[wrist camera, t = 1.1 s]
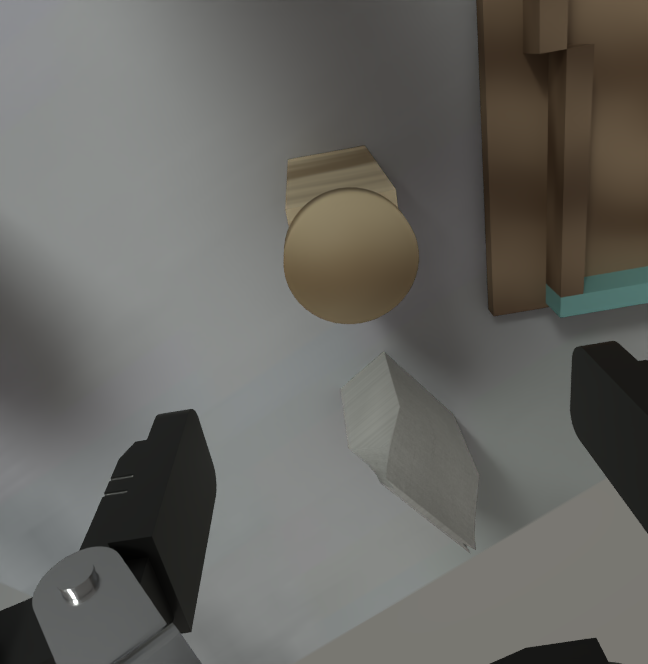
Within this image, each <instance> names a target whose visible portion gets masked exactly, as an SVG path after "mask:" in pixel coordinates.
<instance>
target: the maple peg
mask: <svg viewBox="0 0 648 664" xmlns="http://www.w3.org/2000/svg"><path fill="white" fill-rule="evenodd" d="M285 210H286V215H287V220H288V225H289V229H288V231H287V235H286V238H285V245H284V272H285V277H286V280H287V284H288V286H289V288H290V290H291V292H292V294H293V295H294V297H295V298H296V299H297V301H298V302H299V303H300V304H301V305H302V306H303V307H304V308H305V309H306V310H308V311H309V312H311V313H312V314H314V315H316V316H317V317H319V318H322V319H324V320H327V321H330V322H334V323H341V324H356V323H363V322H367V321H371V320H373V319H376V318H378V317H380V316H382V315H384V314H386V313H388V312H389V311H391V310H392V309H393V308H394V307H396V306H397V305H398V304H399V303H400V302H401V301H402V300H403V299H404V297H405V296H406V295H407V293H408V292H409V290H410V288H411V286H412V285H413V282H414V280H415V277H416V274H417V270H418V263H419V251H418V245H417V241H416V237H415V235H414V232H413V230H412V228H411V226H410V225H409V223H408V222H407V220H406V219H405V217H404V216H403V214H402V213H401V211H400V210H399V209H398V205H397V196H396V189H395V188H394V186H393V185H392V183H391V182H390V181H389V179H388V178H387V176H386V175H385V173H384V172H383V171H382V169H381V168H380V166H379V165H378V164H377V162H376V161H375V159H374V158H373V157H372V155H371V154H370V152H369V151H368V149H367V148H366V147H365V146H359V147H354V148H348V149H343V150H337V151H332V152H326V153H321V154H315V155H310V156H304V157H299V158H293V159H288V169H287V188H286V207H285Z"/></svg>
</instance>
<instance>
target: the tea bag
mask: <svg viewBox="0 0 648 664" xmlns="http://www.w3.org/2000/svg"><path fill="white" fill-rule="evenodd" d="M341 396H342V403H343V411H344V418H345V426H346V433H347V440H348V448H349V449H350V450H351V451H353V452H354V453H355V454H356V455H357V456H358V457H360V458H361V459H362V460H363V461H364V462H366V463H367V464H368V465H369V466H370V467H371V469H372V470H373V471H374V472H375V473H376V475H377V477H378V479H379V481H380V483H381V484H382V485H384V486H385V487H386V488H387V489H389V490H390V491H391V492H393V493H394V494H395V495H396V496H398V497H399V498H400V499H401V500H403V501H404V502H405V503H407V504H408V505H409V506H410V507H412V508H413V509H414V510H416V511H417V512H418V513H419V514H421V515H422V516H423V517H424V518H426V519H427V520H428V521H430V522H431V523H432V524H433V525H435V526H436V527H437V528H439V529H440V530H441V531H442V532H444V533H445V534H446V535H448V536H449V537H450V538H451V539H453V540H454V541H455V542H456V543H458V544H459V545H460V546H462V547H463V548H464V549H465V550H467V551H468V552H469V550H468V548H467V546H469V547H471V548H473V549H475V550H476V545H475V514H476V504H477V495H478V485H479V476H480V475H479V473H478V471H477V468H476V466H475V464H474V461H473V459H472V457H471V454H470V452H469V450H468V447H467V445H466V443H465V440H464V438H463V436H462V433H461V431H460V429H459V427H458V424H457V422H456V420H455V417H454V415H453V414H452V413H451V412H450V411H449V410H448V409H447V408H446V407H445V406H444V405H442V404H441V403H440V402H439V401H438V400H437V399H436V398H435V397H434V396H433V395H431V394H430V393H429V392H428V391H427V390H426V389H425V388H424V387H423V386H421V385H420V384H419V383H418V382H417V381H416V380H415V379H414V378H413V377H411V376H410V375H409V374H408V373H407V372H406V371H405V370H404V369H403V368H402V367H400V366H399V365H398V364H397V363H396V362H395V361H394V360H393V359H392V358H390V357H389V356H388V355H387V354H386V353H385V352H383V353H381V354H380V355H379V356H378V357H377V358H376V359H374V360H373V361H372V362H371V363H370V364H369V365H368V366H366V367H365V368H364V369H363V370H362V371H361V372H359V373H358V374H357V375H356V376H355V377H354V378H352V379H351V380H350V381H349V382H348V383H347V384H345V385H344V386H343V387H342V388H341ZM466 545H467V546H466ZM469 553H470V552H469Z"/></svg>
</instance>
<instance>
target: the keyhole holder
mask: <svg viewBox="0 0 648 664" xmlns="http://www.w3.org/2000/svg"><path fill="white" fill-rule="evenodd" d="M476 3H477V28H478V54H479V80H480V105H481V131H482V157H483V182H484V208H485V234H486V259H487V285H488V309H489V311H490V312H491V313H492V315H493V316H499V315H505V314H511V313H516V312H522V311H528V310H534V309H540V308H546V307H550V308H551V309H552V310H553V311H554V312H555V313H556V314H557V315H558V316H559V317H560V318H562V317H568V316H574V315H580V314H586V313H591V312H597V311H603V310H609V309H615V308H621V307H627V306H633V305H639V304H645V303H648V0H476Z"/></svg>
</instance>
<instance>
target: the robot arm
mask: <svg viewBox="0 0 648 664" xmlns="http://www.w3.org/2000/svg"><path fill="white" fill-rule="evenodd" d="M570 414H571V420H572V424H573V427H574V430H575V432H576V435H577V436H578V438H579V440H580V441H581V442H582V444H583V445H584V447H585V448H586V449H587V451H588V452H589V453H590V455H591V456H592V458H593V459H594V460H595V462H596V463H597V464H598V466H599V467H600V469H601V470H602V471H603V473H604V474H605V475H606V477H607V478H608V480H609V481H610V482H611V484H612V485H613V486H614V488H615V489H616V491H617V492H618V493H619V495H620V496H621V497H622V498H623V500H624V501H625V503H626V504H627V506H628V507H629V508H630V509H631V511H632V512H633V514H634V515H635V517H636V518H637V519H638V520H639V522H640V523H641V524H642V526H643V528H644V529H645V530H646V532H647V533H648V361H647V360H643V361H637V360H636V359H635V358H634V357H633V356H632V355H631V354H630V353H629V352H628V351H626V350H625V349H624V348H623V347H622V346H621V345H620V344H619V343H617V342H615V341H609V342H603V343H597V344H591V345H585V346H579V347H576V348H575V349H574V351H573V355H572V372H571V400H570ZM104 494H105V497H102V500H101V502H100V504H99V506H98V509H97V511H96V513H95V516H94V518H93V520H92V523H91V525H90V527H89V530H88V532H87V534H86V536H85V539H84V541H83V543H82V546H81V548H80V550H79V551H77V552H75V553H73V554H71V555H69V556H67V557H65V558H64V559H62V560H61V561H59V562H58V563H57V564H56V565H54V566H53V567H52V568H51V569H50V570H49V571H48V572H47V573H46V574H45V575H44V576H43V578H42V579H41V580H40V582H39V583H38V585H37V587H36V589H35V591H34V594H33V597H32V598H30V599H28V600H26V601H23V602H21V603H18V604H16V605H14V606H11V607H9V608H6V609H4V610H2V611H0V664H202V663H201V662H200V660H199V659H198V658H197V656H196V655H195V653H194V652H193V650H192V649H191V648H190V646H189V645H188V643H187V642H186V640H185V639H184V637H183V636H182V635H181V633H188V632H191V631H192V625H193V619H194V614H195V608H196V603H197V597H198V592H199V586H200V581H201V575H202V570H203V564H204V559H205V553H206V547H207V542H208V536H209V531H210V525H211V520H212V514H213V509H214V503H215V498H216V475H215V469H214V465H213V462H212V459H211V456H210V453H209V450H208V446H207V443H206V440H205V437H204V434H203V431H202V428H201V424H200V421H199V418H198V416H197V413H196V412H195V410H193V409H188V410H182V411H176V412H170V413H164V414H158V415H157V416H156V418H155V420H154V423H153V425H152V428H151V431H150V433H149V436H148V439H147V440H143V441H137V442H135V443H134V444H133V445H132V446H131V447H130V448H129V449H128V450H127V451H126V452H125V453H124V455H123V456H122V457H121V458H120V459H119V460H118V463H117V465H116V467H115V470H114V472H113V474H112V477H111V481H109V483H108V486H107V488H106V490H105V493H104ZM491 664H620V663H615V662H608V660H607V658H606V656H605V654H604V652H603V650H602V648H601V647H600V644H599V642H598V640H597V639H596V638H591V639H584V640H577V641H570V642H563V643H556V644H550V645H542V646H536V647H529V648H524V649H522V650H520V651H518V652H516V653H514V654H511V655H509V656H506V657H505V658H502V659H500V660H497V661H495V662H493V663H491Z"/></svg>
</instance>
